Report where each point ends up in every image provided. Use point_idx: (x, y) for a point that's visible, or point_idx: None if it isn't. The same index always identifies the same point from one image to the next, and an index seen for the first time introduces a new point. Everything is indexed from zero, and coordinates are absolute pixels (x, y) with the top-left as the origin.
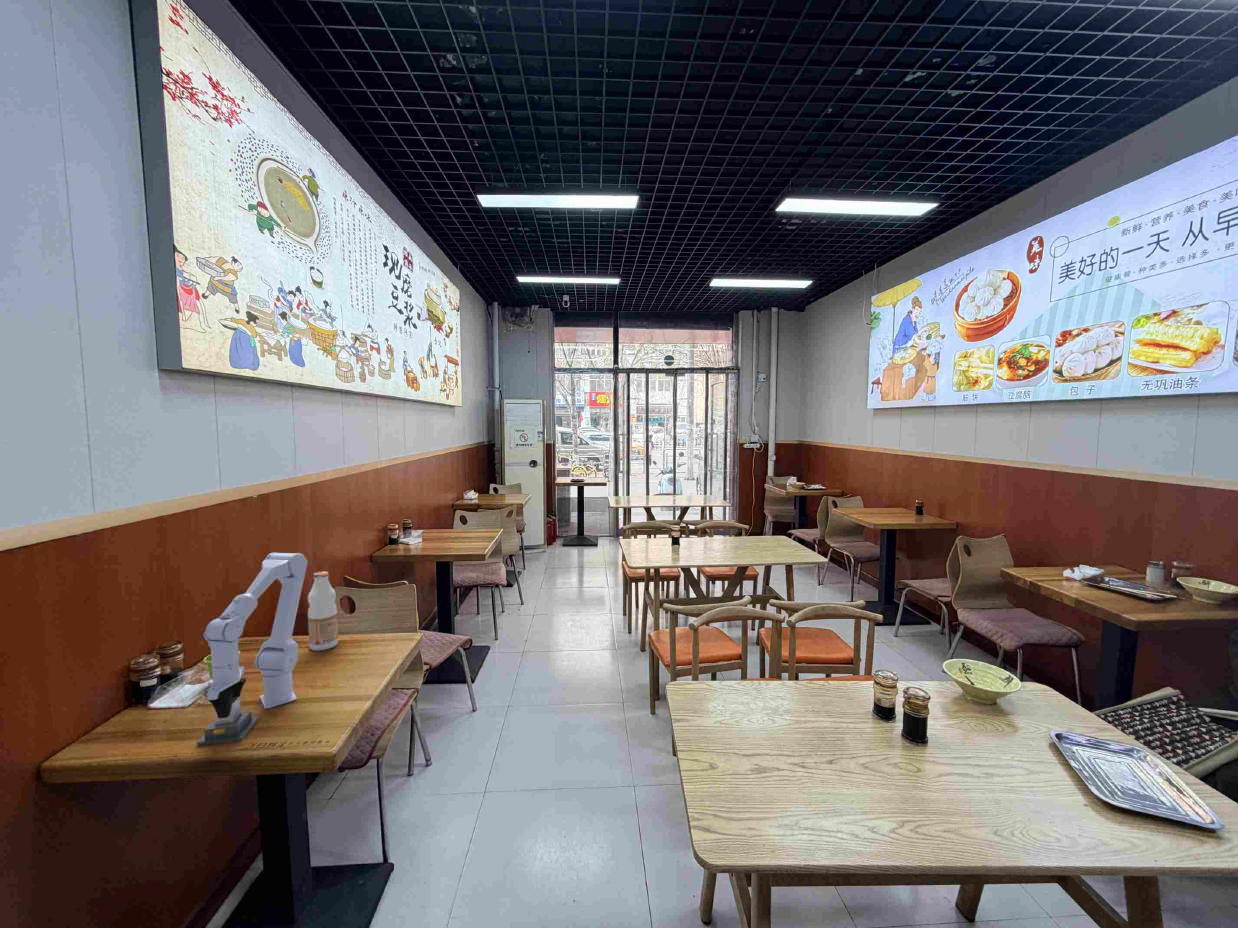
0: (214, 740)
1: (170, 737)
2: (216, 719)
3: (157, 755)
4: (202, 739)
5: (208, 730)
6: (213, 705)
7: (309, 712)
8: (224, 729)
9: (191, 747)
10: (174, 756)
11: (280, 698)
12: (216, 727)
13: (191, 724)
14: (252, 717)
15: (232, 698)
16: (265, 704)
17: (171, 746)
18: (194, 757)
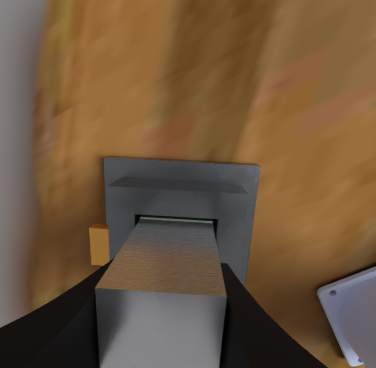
0: (106, 215)
1: (205, 5)
2: (132, 234)
3: (69, 31)
4: (121, 169)
5: (108, 201)
6: (27, 317)
7: None
8: (101, 263)
9: (104, 140)
10: (54, 107)
11: (351, 345)
12: (116, 230)
13: (300, 44)
14: (243, 282)
15: (194, 360)
16: (348, 285)
17: (127, 54)
18: (39, 181)
